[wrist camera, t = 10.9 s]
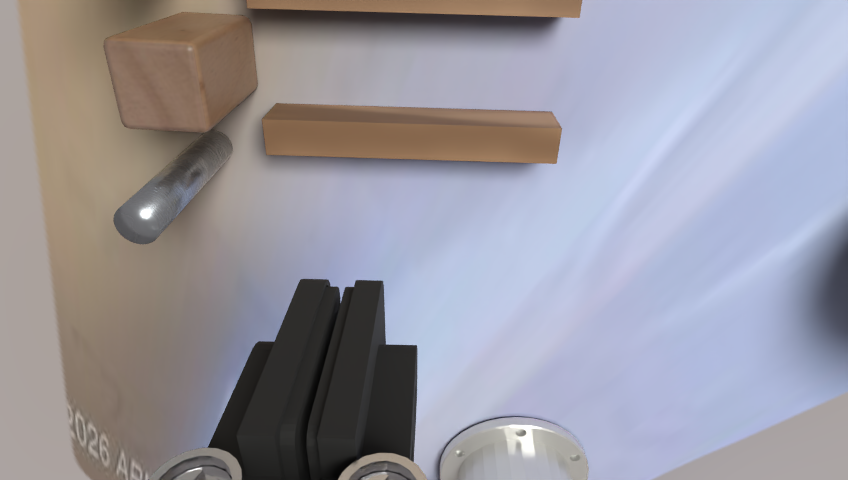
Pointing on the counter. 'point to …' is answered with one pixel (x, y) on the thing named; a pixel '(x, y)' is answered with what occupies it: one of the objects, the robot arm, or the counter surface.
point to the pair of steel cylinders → (172, 189)
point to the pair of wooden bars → (417, 127)
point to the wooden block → (182, 71)
